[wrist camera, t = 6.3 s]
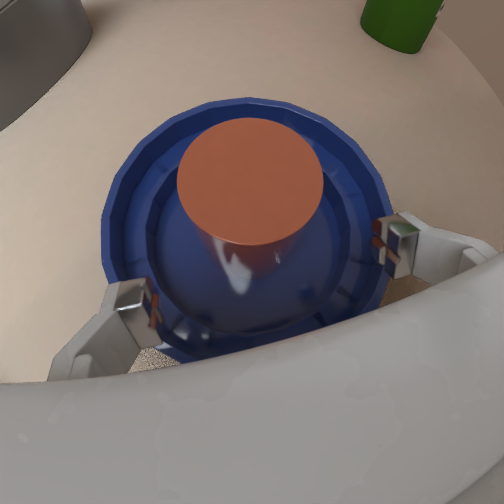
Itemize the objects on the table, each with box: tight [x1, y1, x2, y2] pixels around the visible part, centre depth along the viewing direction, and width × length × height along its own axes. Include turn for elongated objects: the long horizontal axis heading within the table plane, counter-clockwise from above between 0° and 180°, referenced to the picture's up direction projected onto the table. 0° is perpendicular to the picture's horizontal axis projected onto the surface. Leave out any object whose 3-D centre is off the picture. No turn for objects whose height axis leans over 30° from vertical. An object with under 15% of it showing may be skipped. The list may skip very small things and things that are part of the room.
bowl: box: [101, 97, 394, 364], centre depth 17 cm, size 16×16×4 cm
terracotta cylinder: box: [177, 118, 324, 280], centre depth 14 cm, size 6×6×8 cm
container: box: [0, 0, 92, 131], centre depth 18 cm, size 25×25×13 cm
